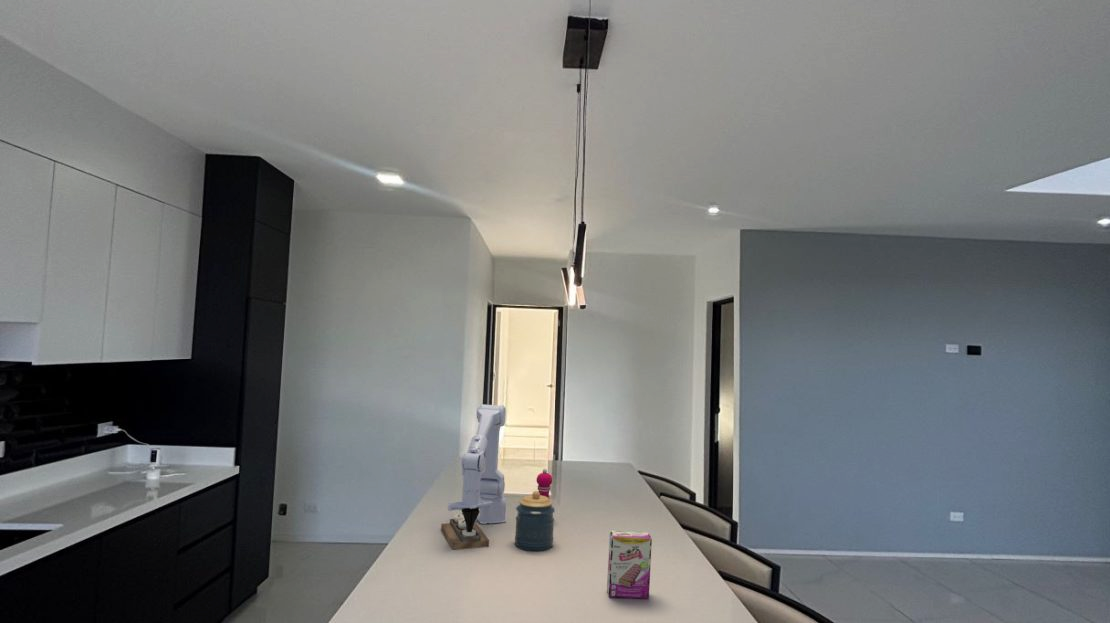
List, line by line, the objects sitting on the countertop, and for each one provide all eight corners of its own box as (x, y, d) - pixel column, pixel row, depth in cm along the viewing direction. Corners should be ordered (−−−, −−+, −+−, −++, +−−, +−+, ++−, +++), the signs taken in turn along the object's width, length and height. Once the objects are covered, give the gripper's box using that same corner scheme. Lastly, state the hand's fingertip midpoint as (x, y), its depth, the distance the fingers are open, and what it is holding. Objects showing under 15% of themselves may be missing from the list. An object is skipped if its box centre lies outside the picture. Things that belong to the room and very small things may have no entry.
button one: (473, 534, 192) (474, 528, 192) (476, 539, 188) (477, 532, 188) (460, 535, 190) (461, 529, 190) (463, 540, 186) (464, 533, 186)
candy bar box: (608, 598, 153) (611, 536, 154) (606, 590, 158) (608, 530, 159) (650, 600, 153) (652, 537, 154) (646, 591, 158) (648, 531, 159)
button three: (469, 524, 198) (469, 518, 198) (472, 528, 194) (472, 521, 194) (456, 525, 196) (457, 518, 196) (459, 529, 192) (460, 522, 192)
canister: (548, 553, 184) (551, 498, 185) (509, 548, 186) (512, 494, 187) (556, 540, 196) (558, 488, 197) (520, 536, 199) (522, 484, 200)
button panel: (474, 527, 206) (474, 517, 206) (488, 546, 188) (489, 535, 188) (441, 529, 202) (441, 519, 202) (452, 549, 183) (453, 538, 183)
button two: (465, 518, 204) (465, 512, 204) (468, 522, 200) (468, 516, 200) (453, 519, 202) (453, 513, 202) (455, 523, 198) (456, 517, 198)
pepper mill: (552, 520, 218) (555, 467, 219) (551, 526, 211) (553, 471, 212) (534, 518, 219) (536, 466, 220) (531, 524, 212) (534, 470, 213)
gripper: (452, 493, 183) (449, 536, 183) (495, 491, 189) (493, 533, 188) (447, 488, 190) (445, 529, 189) (490, 486, 195) (488, 526, 194)
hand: (469, 531), depth 189 cm, fingers closed, pressing on button one
